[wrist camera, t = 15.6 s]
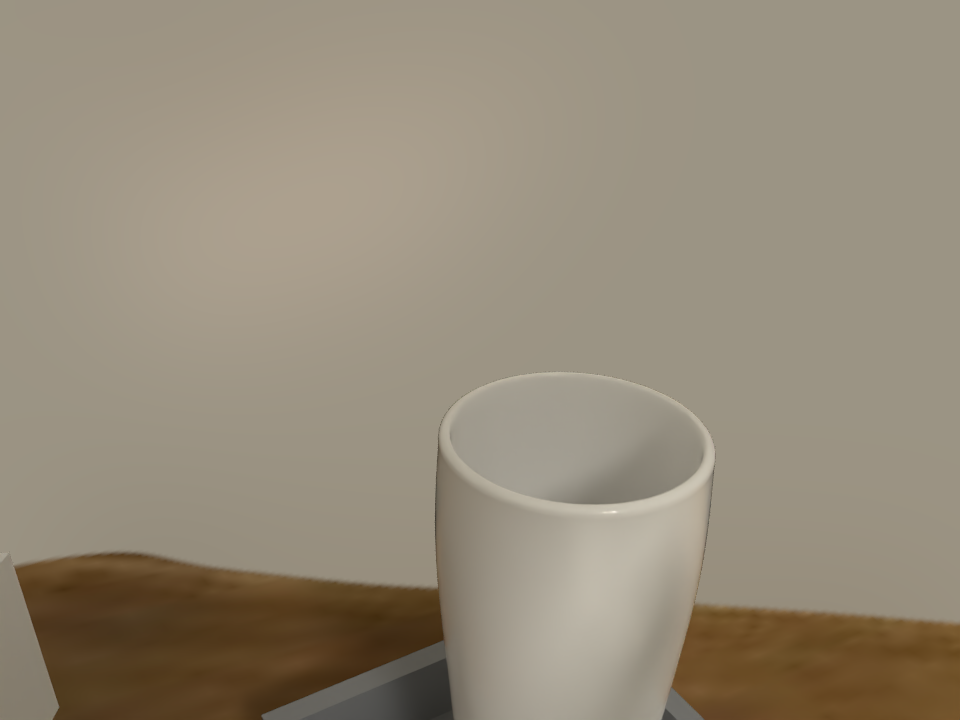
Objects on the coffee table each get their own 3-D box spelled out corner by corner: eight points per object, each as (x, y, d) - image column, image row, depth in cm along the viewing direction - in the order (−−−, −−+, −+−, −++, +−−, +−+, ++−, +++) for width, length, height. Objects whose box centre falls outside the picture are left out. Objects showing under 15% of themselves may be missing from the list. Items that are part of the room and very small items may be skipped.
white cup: (401, 802, 27) (387, 403, 21) (567, 718, 30) (599, 349, 24) (512, 1003, 22) (538, 552, 16) (698, 876, 25) (784, 458, 19)
